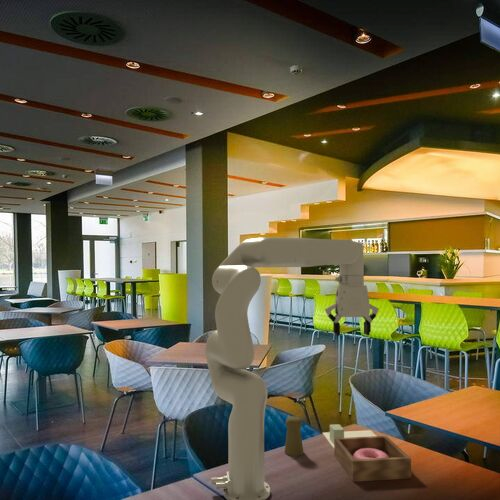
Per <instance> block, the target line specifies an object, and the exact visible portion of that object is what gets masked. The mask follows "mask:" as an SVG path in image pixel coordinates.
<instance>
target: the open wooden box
mask: <svg viewBox="0 0 500 500" xmlns="http://www.w3.org/2000/svg"><path fill="white" fill-rule="evenodd" d="M363 448H372V449H377V450H380V451H383V452H384V453H386V454H387V455H388V457H389V458H375V459H357V460H355V459H354V457H353V455H354V453H355V452H356V451H357V450H359V449H363ZM333 451H334V453H333V455H334V458H335V460H336V461H338V463H339V464H340V466H341V467H342V469H343V470H344V471H345V472H346V474H347V475H348V477H349V478H350V480H351V481H352V482H353V483H355V482H368V481H369V482H371V481H372V482H373V481H387V480H388V481H389V480H402V479H403V480H404V479H412V458H411V457H410V456H409V455H408V454H407V452H405V451H404V450H402V449H401V447H399V446H398V445H397V444H396V443H394V441H392V440H391V439H390V438H389V437H388V436H387V435H376V436H371V437H351V438H334V448H333Z"/></svg>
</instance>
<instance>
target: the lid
mask: <svg viewBox="0 0 500 500" xmlns="http://www.w3.org/2000/svg"><path fill="white" fill-rule="evenodd" d="M322 434H323V436H324V438H326V440H327V441H328V443H329V444H330V445H331V447H332V448H333V449H334V438H351V437H371V436H377V434H375V433H374V432H373V431H372V430H370V429H368V430H367V429H366V430H350V431H349V430H348V431H346V430H345V429H344V427H342V425H341V424H340V423H339V424H336V423H335V424H329V431H328V432H322Z"/></svg>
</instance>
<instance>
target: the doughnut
mask: <svg viewBox="0 0 500 500" xmlns="http://www.w3.org/2000/svg"><path fill="white" fill-rule="evenodd" d="M353 457H354V459H355V460H357V459H375V458H389V457H388V455H387V454H386V453H384V452H383V451H380V450H377V449H372V448H363V449H359V450H357V451H356V452H355V453H354V455H353Z"/></svg>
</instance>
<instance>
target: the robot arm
mask: <svg viewBox="0 0 500 500" xmlns="http://www.w3.org/2000/svg"><path fill="white" fill-rule="evenodd" d="M364 257H365V256H364V245H363V243H361V242H360V241H353V240H351V239H343V238H342V239H341V238H340V239H339V238H337V239H335V238H334V239H332V238H331V239H330V238H329V239H328V238H307V237H275V236H274V237H273V236H272V237H271V236H270V237H269V236H268V237H267V236H264V237H263V236H262V237H254V238H248V239H245V240H244V241H242V242H241V243H239V244H238V245H237V246H236V247H235V248H234V250H232V251H231V253H230V254H228V256H227V257H226V258H225V259H224V260H223V261H222V262H221V263H220V264H219V265H218V267H216V269H215V270H214V272H213V274H212V277H211V284H212V288H213V289H214V290H215V292H217V293H218V294H219V297H218V300H217V301H216V306H215V310H214V319H215V324H216V330H214V331H213V332H212V333H211V334H209V336H208V338H207V340H206V342H205V352H204V354H205V359H206V364H207V368H208V372H209V376H210V380H211V384H212V385H211V386H212V388H213V391H214V393H215V394H216V395H217V396H218V397H219V398H220V399H222V400H223V401H225V402H227V403H229V404H231V405H232V409H231V412H230V415H229V418H228V424H227V425H228V427H227V429H228V430H227V431H228V432H227V433H228V438H227V439H228V450H227V451H228V462H227V463H228V471H227V470H226V475H222V476H220V477H218V476H214V477H210V480H211V481H210V485H211V486H215V489H216V490H217V489H218V490H219V489H221V490H222V495H223V497H224V498H225V500H267V499H268V498H269V497H270V495H271V487H270V485H269V483H267V482H266V481H265V413H266V406H267V399H268V395H269V394H268V385H267V383H266V381H265V380H264V379H263V378H262V377H261V376H260V375H259V374H257V373H255V372H252V371H249V370H246V369H247V368H249V367H250V366H252V364H253V362H254V360H255V347H254V343H253V337H252V333H251V328H250V323H249V316H248V310H249V306H250V303H251V301H252V299H253V298H254V297H255V295H256V294H257V292H258V291H259V289H260V287H261V282H262V280H261V274H260V271H259V270H258V269H257V268H306V267H307V268H309V267H317V266H339V275H338V276H336V277H335V282H338V283H339V284H338V285H337V286H336V287H337V288H336V294H335V302H334V303H333V304H331V305H329V306H327V307H326V308H324V311H325V313H326V316H327V317H328V319H330V321H332V323H333V329H332V330H333V333H334V335H335V336H339V337H340V336H341V323H340V322H339V321H340V320H341V319H342V318H363V320H364V321H363V334H364V335H366V336H370V335H371V334H370V333H371V332H372V331H371V330H372V328H371V327H372V325H371V323H372V322H373V320H374V319H375V318H377V317H376V316H377V314H378V312H379V308H378V307H376V306H375V305H372V304H371V303H370V298H369V291H368V286H367V285H366V284H364V283H365V275H364V267H365V266H364V265H365V264H364V261H365V260H364ZM332 311H334V313H335V315H333V313H332ZM370 311H371V312H370Z"/></svg>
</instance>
